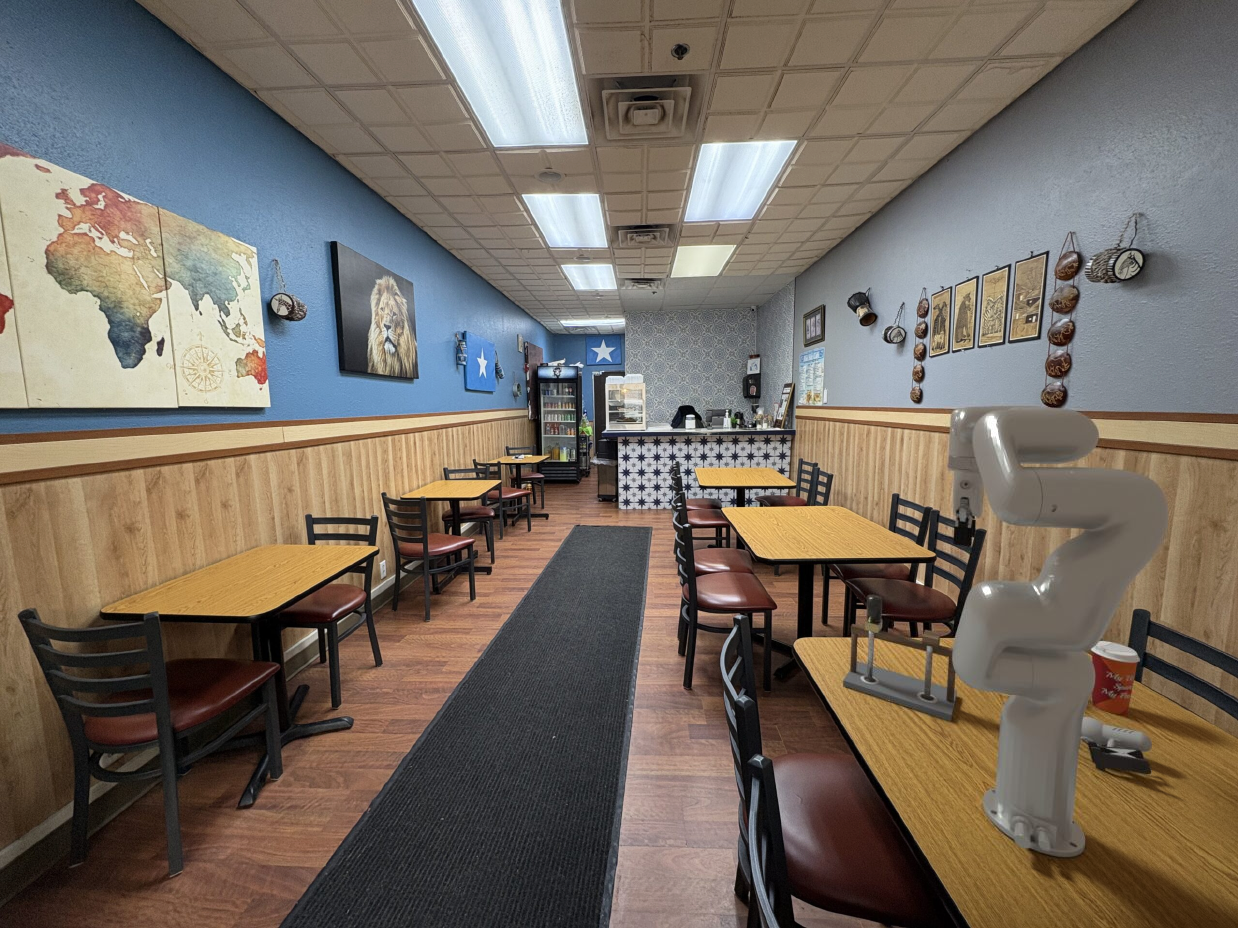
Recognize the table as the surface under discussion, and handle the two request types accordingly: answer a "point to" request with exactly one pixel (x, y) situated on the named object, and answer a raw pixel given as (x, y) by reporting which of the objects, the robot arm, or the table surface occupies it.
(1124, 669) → the paper cup
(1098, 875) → the table surface
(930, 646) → the divider frame
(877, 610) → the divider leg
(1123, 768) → the clip-on lamp
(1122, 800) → the table surface
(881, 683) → the hole plate
